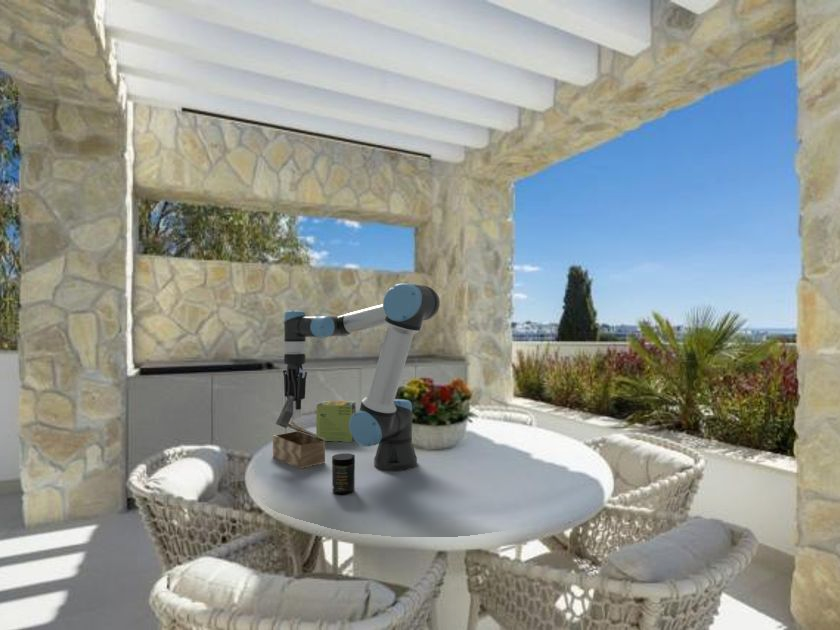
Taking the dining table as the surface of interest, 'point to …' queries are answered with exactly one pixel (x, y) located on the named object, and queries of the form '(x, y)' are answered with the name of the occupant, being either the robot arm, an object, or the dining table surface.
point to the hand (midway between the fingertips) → (294, 417)
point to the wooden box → (298, 449)
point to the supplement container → (343, 473)
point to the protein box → (335, 420)
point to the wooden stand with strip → (286, 417)
